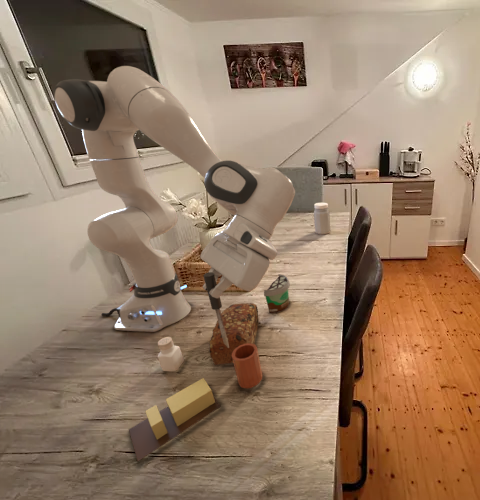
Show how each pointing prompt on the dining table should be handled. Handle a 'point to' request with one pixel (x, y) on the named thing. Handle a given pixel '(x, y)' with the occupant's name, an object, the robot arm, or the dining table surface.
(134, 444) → the butter board
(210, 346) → the bread
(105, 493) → the dining table surface
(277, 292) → the food container
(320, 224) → the jar
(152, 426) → the butter slice
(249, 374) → the crock
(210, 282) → the dark grey rod
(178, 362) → the pepper shaker
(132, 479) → the dining table surface
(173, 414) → the butter block
